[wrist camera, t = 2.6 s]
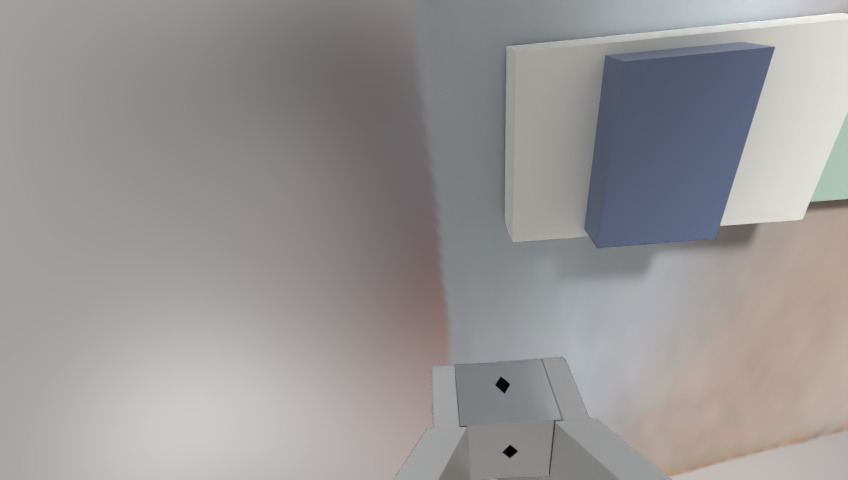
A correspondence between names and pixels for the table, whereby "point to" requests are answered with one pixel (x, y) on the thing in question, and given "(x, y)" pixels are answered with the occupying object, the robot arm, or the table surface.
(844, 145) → the mat
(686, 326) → the table surface
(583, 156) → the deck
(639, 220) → the tile
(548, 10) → the table surface
